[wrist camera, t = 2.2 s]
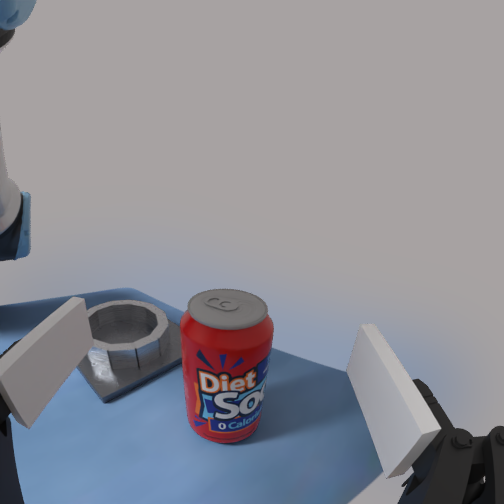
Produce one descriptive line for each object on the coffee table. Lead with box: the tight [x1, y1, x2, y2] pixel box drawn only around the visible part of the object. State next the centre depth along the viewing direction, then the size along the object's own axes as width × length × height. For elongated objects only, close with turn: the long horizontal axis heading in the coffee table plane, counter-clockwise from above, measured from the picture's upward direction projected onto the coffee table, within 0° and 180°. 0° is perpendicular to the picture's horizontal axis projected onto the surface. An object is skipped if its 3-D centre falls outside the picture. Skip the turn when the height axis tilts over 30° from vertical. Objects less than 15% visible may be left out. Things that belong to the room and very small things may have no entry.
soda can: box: [180, 289, 274, 443], centre depth 24 cm, size 8×8×15 cm
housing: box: [76, 300, 182, 403], centre depth 37 cm, size 18×18×4 cm
